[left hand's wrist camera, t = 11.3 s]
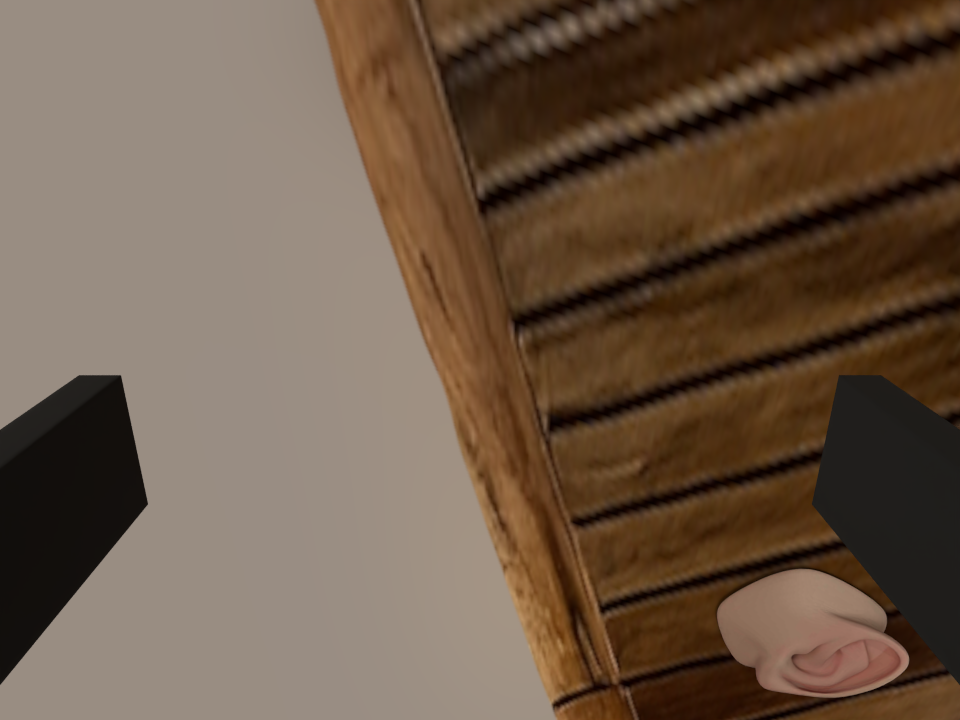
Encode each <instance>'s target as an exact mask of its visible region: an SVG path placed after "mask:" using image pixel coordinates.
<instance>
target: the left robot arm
mask: <svg viewBox="0 0 960 720" xmlns="http://www.w3.org/2000/svg"><path fill="white" fill-rule="evenodd" d="M147 505H148V502H147V497H146V492H145V488H144V483H143V478H142V474H141V469H140V464H139V459H138V454H137V450H136V445H135V440H134V435H133V431H132V426H131V421H130V416H129V412H128V407H127V402H126V397H125V393H124V388H123V383H122V378H121V376H120V375H79V376H77V377H76V378H75V379H73V380H72V381H70V382H69V383H67V384H66V385H64V386H63V387H61V388H60V389H59V390H57V391H56V392H54V393H53V394H51V395H50V396H49V397H47V398H46V399H44V400H43V401H41V402H40V403H38V404H37V405H35V406H34V407H33V408H31V409H30V410H28V411H27V412H25V413H24V414H23V415H21V416H20V417H18V418H17V419H15V420H14V421H12V422H11V423H9V424H8V425H6V426H5V427H4V428H2V429H1V430H0V684H1V683H2V682H3V681H4V680H5V678H6V677H7V676H8V675H9V673H10V672H11V671H12V670H13V669H14V667H15V666H16V665H17V664H18V662H19V661H20V660H21V659H22V658H23V656H24V655H25V654H26V653H27V651H28V650H29V649H30V648H31V647H32V645H33V644H34V643H35V642H36V640H37V639H38V638H39V637H40V636H41V634H42V633H43V632H44V631H45V629H46V628H47V627H48V626H49V625H50V623H51V622H52V621H53V620H54V618H55V617H56V616H57V615H58V614H59V612H60V611H61V610H62V609H63V607H64V606H65V605H66V604H67V603H68V601H69V600H70V599H71V598H72V596H73V595H74V594H75V593H76V592H77V590H78V589H79V588H80V587H81V585H82V584H83V583H84V582H85V581H86V579H87V578H88V577H89V576H90V574H91V573H92V572H93V571H94V570H95V568H96V567H97V566H98V565H99V563H100V562H101V561H102V560H103V559H104V557H105V556H106V555H107V554H108V552H109V551H110V550H111V549H112V548H113V546H114V545H115V544H116V543H117V541H118V540H119V539H120V538H121V537H122V535H123V534H124V533H125V532H126V530H127V529H128V528H129V527H130V526H131V524H132V523H133V522H134V521H135V519H136V518H137V517H138V516H139V515H140V513H141V512H142V511H143V510H144V508H145V507H146V506H147ZM812 505H813V506H814V507H815V508H816V510H817V511H818V512H819V513H820V515H821V516H822V517H823V518H824V519H825V521H826V522H827V523H828V524H829V526H830V527H831V528H832V529H833V530H834V532H835V533H836V534H837V535H838V537H839V538H840V539H841V540H842V541H843V543H844V544H845V545H846V546H847V548H848V549H849V550H850V551H851V552H852V554H853V555H854V556H855V557H856V559H857V560H858V561H859V562H860V563H861V565H862V566H863V567H864V568H865V570H866V571H867V572H868V573H869V574H870V576H871V577H872V578H873V579H874V581H875V582H876V583H877V584H878V585H879V587H880V588H881V589H882V590H883V592H884V593H885V594H886V595H887V596H888V598H889V599H890V600H891V601H892V603H893V604H894V605H895V606H896V607H897V609H898V610H899V611H900V612H901V614H902V615H903V616H904V617H905V618H906V620H907V621H908V622H909V623H910V625H911V626H912V627H913V628H914V629H915V631H916V632H917V633H918V634H919V636H920V637H921V638H922V639H923V640H924V642H925V643H926V644H927V645H928V647H929V648H930V649H931V650H932V651H933V653H934V654H935V655H936V656H937V658H938V659H939V660H940V661H941V662H942V664H943V665H944V666H945V667H946V669H947V670H948V671H949V672H950V673H951V675H952V676H953V677H954V678H955V680H956V681H957V682H958V683H959V684H960V430H959V429H958V428H956V427H955V426H954V425H952V424H951V423H949V422H948V421H946V420H945V419H943V418H942V417H940V416H939V415H938V414H936V413H935V412H933V411H932V410H930V409H929V408H927V407H926V406H925V405H923V404H922V403H920V402H919V401H917V400H916V399H914V398H913V397H912V396H910V395H909V394H907V393H906V392H904V391H903V390H901V389H900V388H899V387H897V386H896V385H894V384H893V383H891V382H890V381H888V380H887V379H885V378H884V377H883V376H881V375H839V378H838V383H837V388H836V393H835V397H834V402H833V407H832V412H831V416H830V421H829V426H828V431H827V435H826V440H825V445H824V450H823V454H822V459H821V464H820V469H819V473H818V478H817V483H816V488H815V492H814V497H813V502H812Z"/></svg>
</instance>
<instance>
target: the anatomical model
mask: <svg viewBox="0 0 960 720" xmlns="http://www.w3.org/2000/svg"><path fill="white" fill-rule="evenodd" d="M717 620H718V625H719V628H720V631H721V633H722V636H723V639H724V641H725V644H726V645H727V647H728V649H729V650H730V652H731V654H732V655H733V656H734V658H735V659H736V660H737V661H738V662H740V663H741V664H743V665H746V666H750V667H753V668H756V676H757V679H758V681H759V683H760V685H761V686H762V687H764V688H766V689H768V690H772V691H778V692H784V693H791V694H798V695H805V696H813V697H844V696H849V695H854V694H859V693H862V692H866V691H869V690H872V689H875V688H877V687H880V686H882V685H884V684H886V683H888V682H890V681H892V680H893V679H895V678H896V677H897V676H899V675H900V674H901V673H902V672H903V671H904V670H905V669H906V668H907V666H908V664H909V656H908V653H907V651H906V650H905V649H904V648H903V646H902V645H901V644H899V643H898V642H897V641H896V640H894V639H893V638H892V637H890V636H888V635H887V634H885V633H884V631H885V628H886V625H887V617H886V614H885V612H884V610H883V609H882V608H881V607H880V606H879V605H878V604H877V603H876V602H875V601H874V600H873V599H871V598H870V597H868V596H867V595H865V594H864V593H862V592H861V591H859V590H858V589H856V588H854V587H852V586H851V585H849V584H847V583H845V582H843V581H841V580H839V579H837V578H835V577H833V576H830V575H828V574H825V573H823V572H820V571H816V570H811V569H792V570H787V571H783V572H779V573H776V574H773V575H770V576H768V577H765V578H762V579H760V580H758V581H756V582H754V583H752V584H750V585H748V586H746V587H744V588H742V589H740V590H738V591H737V592H735V593H734V594H732V595H731V596H729V597H728V598H726V599H725V600H724V601H723V602H722V603H721V605H720V606H719V608H718V611H717Z"/></svg>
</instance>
